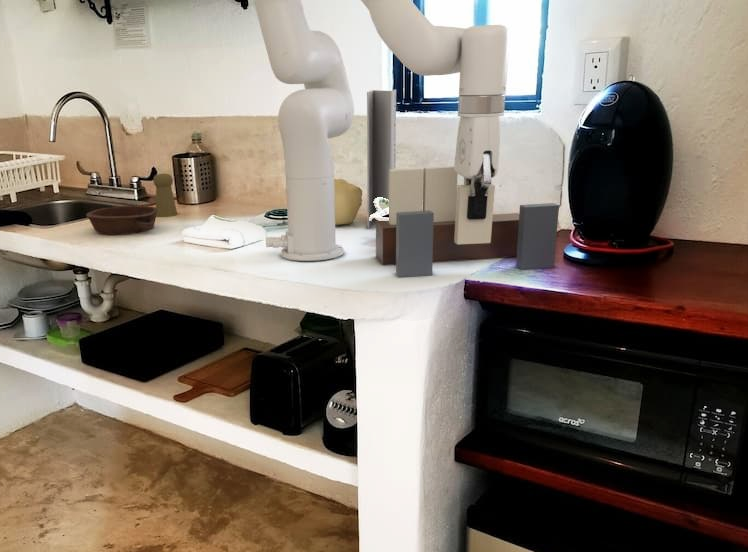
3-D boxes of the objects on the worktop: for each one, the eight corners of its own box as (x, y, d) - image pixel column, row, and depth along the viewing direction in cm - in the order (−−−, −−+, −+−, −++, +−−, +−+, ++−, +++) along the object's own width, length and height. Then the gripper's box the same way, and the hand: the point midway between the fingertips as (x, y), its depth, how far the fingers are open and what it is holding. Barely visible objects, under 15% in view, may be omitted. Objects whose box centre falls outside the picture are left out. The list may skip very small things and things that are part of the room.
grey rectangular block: (520, 269, 137) (525, 207, 133) (515, 266, 139) (519, 204, 136) (554, 267, 137) (559, 205, 133) (548, 264, 140) (553, 202, 136)
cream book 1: (390, 225, 145) (390, 170, 142) (388, 223, 147) (388, 169, 143) (422, 223, 145) (423, 168, 142) (419, 221, 147) (420, 167, 144)
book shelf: (382, 265, 145) (382, 228, 143) (375, 257, 152) (375, 221, 149) (528, 255, 146) (530, 219, 144) (515, 248, 153) (517, 212, 150)
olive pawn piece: (155, 213, 215) (151, 173, 211) (177, 212, 216) (173, 172, 212) (155, 217, 210) (150, 175, 206) (177, 215, 210) (173, 174, 206)
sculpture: (369, 222, 187) (368, 176, 183) (339, 230, 179) (338, 183, 175) (331, 218, 194) (330, 175, 190) (301, 226, 186) (299, 181, 182)
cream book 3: (457, 244, 135) (460, 186, 132) (454, 242, 137) (457, 185, 134) (490, 243, 136) (495, 185, 132) (487, 240, 138) (491, 183, 134)
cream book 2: (424, 223, 145) (425, 168, 142) (422, 221, 147) (423, 167, 144) (456, 221, 146) (457, 166, 142) (453, 219, 147) (454, 165, 144)
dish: (121, 241, 180) (118, 220, 178) (70, 232, 194) (67, 212, 193) (179, 229, 191) (177, 208, 189) (127, 221, 206) (125, 202, 204)
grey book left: (398, 277, 136) (399, 214, 132) (395, 273, 139) (396, 212, 135) (432, 275, 136) (433, 212, 132) (428, 271, 139) (430, 210, 135)
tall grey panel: (391, 228, 178) (392, 90, 167) (367, 228, 179) (366, 92, 168) (395, 217, 191) (396, 89, 180) (372, 218, 192) (372, 90, 181)
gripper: (446, 105, 135) (440, 210, 142) (473, 109, 120) (466, 227, 127) (488, 103, 135) (480, 209, 142) (520, 108, 121) (510, 225, 128)
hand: (473, 216), depth 135 cm, fingers closed on cream book 3, 2 cm apart
